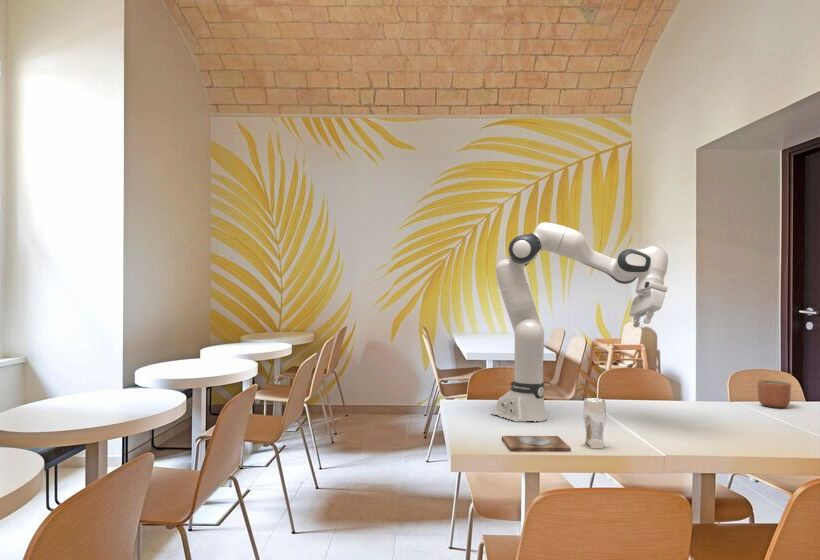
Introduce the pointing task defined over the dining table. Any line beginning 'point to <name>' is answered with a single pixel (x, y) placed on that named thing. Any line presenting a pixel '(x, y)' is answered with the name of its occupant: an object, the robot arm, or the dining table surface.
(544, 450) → the walnut board
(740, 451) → the dining table surface
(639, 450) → the dining table surface
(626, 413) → the dining table surface
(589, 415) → the beer glass
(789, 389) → the planter
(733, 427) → the dining table surface
